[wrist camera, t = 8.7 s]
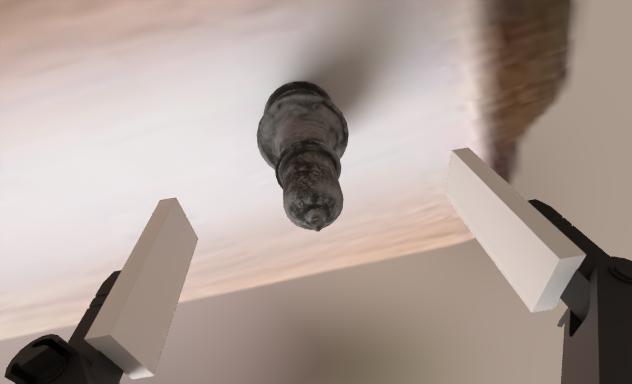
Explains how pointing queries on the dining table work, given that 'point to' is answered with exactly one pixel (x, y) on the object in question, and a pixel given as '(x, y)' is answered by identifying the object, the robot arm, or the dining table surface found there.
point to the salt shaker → (305, 152)
